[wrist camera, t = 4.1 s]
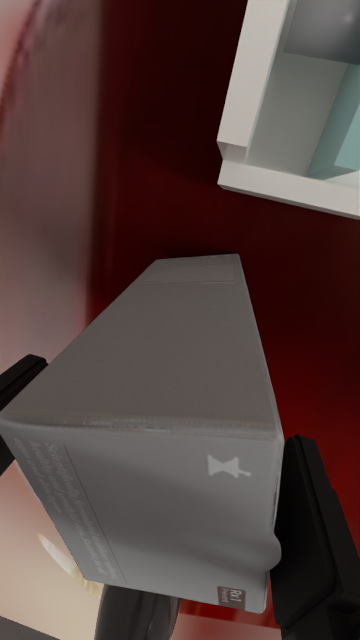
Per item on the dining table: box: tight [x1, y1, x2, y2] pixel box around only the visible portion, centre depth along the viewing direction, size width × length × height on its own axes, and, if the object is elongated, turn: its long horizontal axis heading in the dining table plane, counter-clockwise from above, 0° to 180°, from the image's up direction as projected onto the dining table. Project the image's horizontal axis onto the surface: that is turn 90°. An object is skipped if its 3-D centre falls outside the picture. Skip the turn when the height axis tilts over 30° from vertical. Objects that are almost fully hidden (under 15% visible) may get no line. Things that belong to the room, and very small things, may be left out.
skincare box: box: [0, 254, 284, 613], centre depth 13 cm, size 8×7×16 cm
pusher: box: [283, 0, 360, 180], centre depth 10 cm, size 4×10×5 cm, turn 168°
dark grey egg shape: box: [94, 584, 182, 640], centre depth 30 cm, size 10×10×15 cm
